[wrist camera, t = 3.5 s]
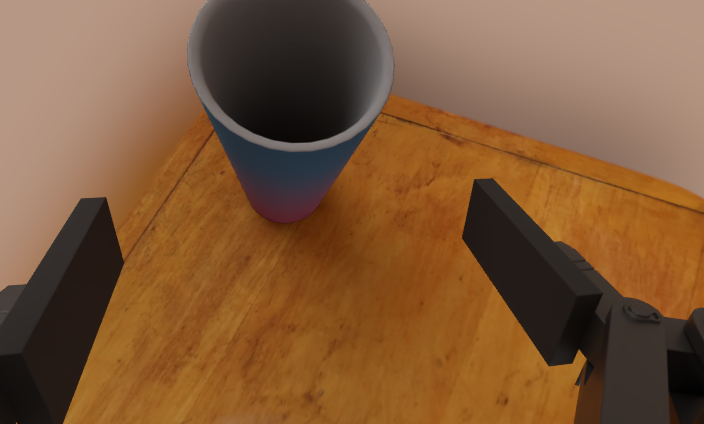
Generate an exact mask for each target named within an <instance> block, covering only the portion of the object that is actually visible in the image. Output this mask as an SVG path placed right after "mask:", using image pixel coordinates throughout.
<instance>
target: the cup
mask: <svg viewBox="0 0 704 424" xmlns="http://www.w3.org/2000/svg"><path fill="white" fill-rule="evenodd" d="M187 47H188V48H187V50H188V51H187V52H188V67H189V72H190V76H191V79H192V84H193V86H194V88H195V90H196V92H197V93H198V96H199V98H200V100H201V102H202V104H203V106H204V108H205V111H206V113H207V115H208V117H209V119H210V121H211V123H212V125H213V127H214V129H215V131H216V133H217V135H218V137H219V139H220V142H221V144H222V146H223V148H224V150H225V152H226V154H227V156H228V158H229V160H230V162H231V164H232V166H233V168H234V170H235V173H236V175H237V177H238V179H239V181H240V183H241V185H242V187H243V189H244V191H245V193H246V195H247V197H248V199H249V201H250V203H251V205H252V206H253V208H254V209H255V210H256V211H257V212H258V213H259V214H260V215H261V216H263V217H265V218H267V219H268V220H271V221H274V222H279V223H292V222H296V221H300V220H302V219H304V218H306V217H307V216H309V215H310V214H311V213H313V211H314V210H315V209H316V208H317V207H318V205H319V204H320V202H321V201H322V199H323V198H324V196H325V195H326V193H327V192H328V190H329V189H330V187H331V186H332V184H333V183H334V181H335V180H336V178H337V177H338V175H339V174H340V172H341V171H342V169H343V168H344V166H345V165H346V163H347V162H348V160H349V159H350V157H351V156H352V154H353V153H354V151H355V150H356V148H357V147H358V145H359V144H360V142H361V141H362V139H363V138H364V136H365V135H366V133H367V132H368V130H369V129H370V127H371V126H372V124H373V123H374V122H375V120H376V119H377V117H378V116H379V114H380V112H381V110H382V109H383V107H384V105H385V104H386V102H387V100H388V98H389V94H390V91H391V88H392V85H393V79H394V67H395V64H394V56H393V48H392V45H391V42H390V39H389V36H388V33H387V30H386V29H385V27H384V25H383V23H382V22H381V20H380V18H379V17H378V15H377V14H376V12H375V11H374V10H373V9H372V8H371V7H370V5H369V4H368V3H367V2H366V1H365V0H207V2H206V3H205V4H204V5H203V7H202V8H201V9H200V11H199V12H198V15H197V17H196V19H195V21H194V23H193V25H192V27H191V32H190V36H189V41H188V45H187Z"/></svg>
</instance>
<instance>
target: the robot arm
mask: <svg viewBox="0 0 704 424" xmlns="http://www.w3.org/2000/svg"><path fill="white" fill-rule="evenodd" d="M462 239H463V240H464V242H465V243H466V245H467V246H468V248H469V249H470V251H471V252H472V254H473V255H474V257H475V258H476V260H477V261H478V262H479V264H480V265H481V267H482V268H483V270H484V271H485V273H486V274H487V276H488V277H489V279H490V280H491V282H492V283H493V285H494V286H495V288H496V289H497V290H498V292H499V293H500V295H501V296H502V298H503V299H504V301H505V302H506V304H507V305H508V307H509V308H510V310H511V311H512V313H513V314H514V316H515V317H516V318H517V320H518V321H519V323H520V324H521V326H522V327H523V329H524V330H525V332H526V333H527V335H528V336H529V338H530V339H531V341H532V342H533V344H534V345H535V346H536V348H537V349H538V351H539V352H540V354H541V355H542V357H543V358H544V360H545V361H546V363H547V364H548V366H556V365H564V364H571V363H573V361H574V358H575V356H576V354H577V352H578V349H580V351H581V352H582V353H583V355H584V356H585V357H586V358H587V360H586V362H585V364H584V366H583V368H582V370H581V373H580V375H579V377H578V379H577V381H576V383H575V385H577V386H579V385H580V389H579V395H578V401H577V408H576V414H575V420H574V424H704V308H698V309H695V310H694V311H693V312H692V314H691V315H690V317H689V319H688V320H682V319H675V318H668V317H663V316H662V315H661V313H660V312H659V311H658V310H657V309H655V308H654V307H652V306H651V305H649V304H647V303H645V302H643V301H641V300H638V299H634V298H629V297H625V298H624V297H623V296H622V295H621V294H620V293H619V292H618V291H617V290H616V289H615V288H614V287H613V286H612V285H611V284H610V283H609V282H608V281H607V280H605V279H604V278H603V277H602V276H601V275H600V274H599V273H598V272H597V271H596V270H594V268H593V267H592V266H591V265H590V264H589V263H588V262H586V260H585V259H584V258H583V257H582V256H581V255H580V254H579V253H578V252H577V251H576V250H575V249H573V248H572V247H570V246H568V245H567V244H565V243H563V242H561V241H559V242H554V241H553V240H552V239H551V238H550V237H549V236H548V235H547V234H546V233H545V232H544V231H543V230H542V229H541V228H540V227H539V226H538V225H537V224H536V223H535V222H534V221H533V220H532V219H531V218H530V217H529V216H528V214H527V213H526V212H525V211H524V210H523V209H522V208H521V207H520V206H519V205H518V204H517V203H516V202H515V201H514V200H513V199H512V198H511V197H510V196H509V195H508V194H507V193H506V192H505V191H504V190H503V189H502V187H501V186H500V185H499V184H498V183H497V182H496V181H495V180H494V179H493V178H491V179H474V183H473V188H472V193H471V198H470V202H469V207H468V212H467V217H466V221H465V226H464V231H463V236H462ZM123 265H124V261H123V257H122V253H121V250H120V246H119V242H118V239H117V235H116V232H115V228H114V224H113V221H112V217H111V213H110V210H109V206H108V202H107V199H106V197H103V198H83V199H80V201H79V203H78V204H77V206H76V207H75V209H74V210H73V212H72V214H71V215H70V217H69V218H68V220H67V221H66V223H65V225H64V226H63V228H62V229H61V231H60V232H59V234H58V236H57V237H56V239H55V240H54V242H53V244H52V245H51V247H50V248H49V250H48V251H47V253H46V255H45V256H44V258H43V259H42V261H41V263H40V264H39V266H38V267H37V269H36V271H35V272H34V274H33V275H32V277H31V278H30V280H29V282H28V283H27V284H25V285H11V286H7V287H6V288H5V289H3V290H2V291H1V292H0V424H16V422H17V423H18V424H63V422H64V419H65V417H66V414H67V411H68V409H69V406H70V403H71V401H72V398H73V396H74V393H75V390H76V388H77V385H78V382H79V380H80V377H81V375H82V372H83V369H84V367H85V364H86V362H87V359H88V356H89V354H90V351H91V348H92V346H93V343H94V341H95V338H96V335H97V333H98V330H99V327H100V325H101V322H102V320H103V317H104V314H105V312H106V309H107V307H108V304H109V301H110V299H111V296H112V293H113V291H114V288H115V286H116V283H117V280H118V278H119V275H120V272H121V270H122V267H123Z"/></svg>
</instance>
